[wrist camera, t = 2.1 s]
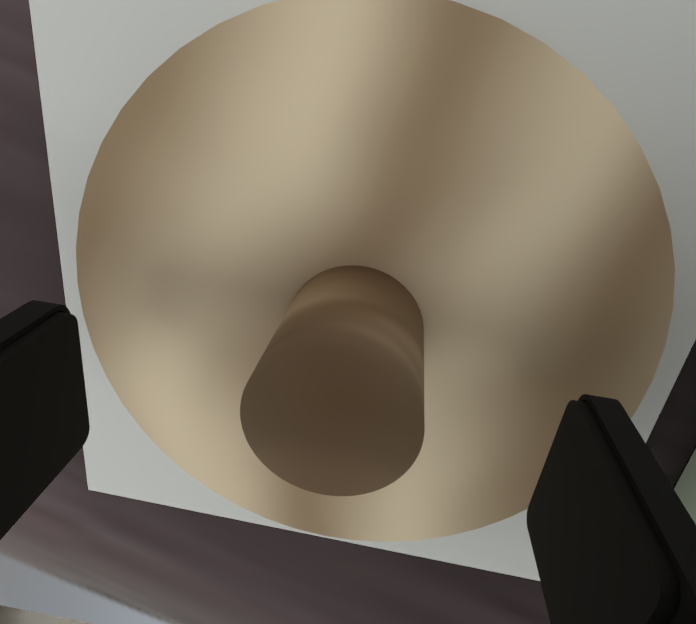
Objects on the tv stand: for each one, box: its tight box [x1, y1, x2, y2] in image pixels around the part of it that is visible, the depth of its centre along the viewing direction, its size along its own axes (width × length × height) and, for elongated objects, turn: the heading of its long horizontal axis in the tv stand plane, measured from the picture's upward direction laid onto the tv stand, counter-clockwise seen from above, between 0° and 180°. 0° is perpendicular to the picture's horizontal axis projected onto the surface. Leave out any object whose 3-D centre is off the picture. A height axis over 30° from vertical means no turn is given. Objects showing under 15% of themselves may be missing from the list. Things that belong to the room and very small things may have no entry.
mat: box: [29, 0, 696, 581], centre depth 14 cm, size 17×17×1 cm
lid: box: [76, 0, 675, 542], centre depth 12 cm, size 15×15×5 cm
